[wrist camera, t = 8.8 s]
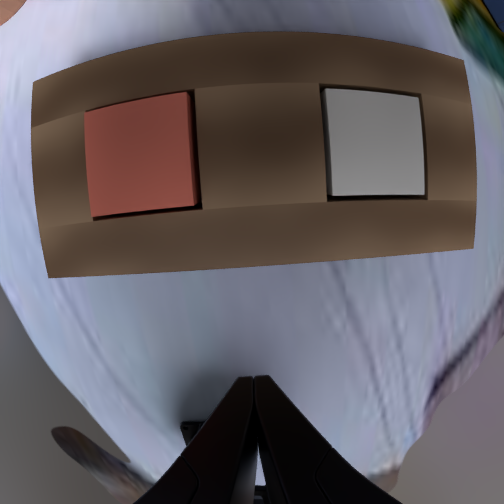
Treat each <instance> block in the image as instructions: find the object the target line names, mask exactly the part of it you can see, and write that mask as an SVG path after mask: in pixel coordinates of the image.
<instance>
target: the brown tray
mask: <svg viewBox="0 0 504 504" xmlns="http://www.w3.org/2000/svg"><path fill="white" fill-rule="evenodd" d="M324 89H345V90H359V91H370V92H380V93H389V94H397V95H404V96H411V97H417V98H418V99H419V107H420V116H421V126H422V139H423V155H424V195H343V196H332V195H328V194H327V193H326V170H325V152H324V137H323V124H322V112H321V101H320V93H321V92H322V91H323V90H324ZM182 92H187V93H188V95H189V96H190V97H191V99H192V100H193V101H194V103H195V105H196V124H197V141H198V156H199V170H200V183H201V195H202V201H200V202H199V203H197V204H195V205H194V206H183V207H173V208H163V209H153V210H144V211H135V212H127V213H118V214H110V215H103V216H95V217H91V210H90V202H89V193H88V182H87V170H86V155H85V131H84V113H85V112H89V111H93V110H96V109H100V108H104V107H108V106H113V105H117V104H121V103H126V102H131V101H135V100H140V99H146V98H151V97H157V96H162V95H169V94H175V93H182ZM31 152H32V172H33V185H34V195H35V204H36V212H37V219H38V226H39V232H40V238H41V244H42V249H43V255H44V260H45V264H46V269H47V273H48V278H63V277H85V276H105V275H124V274H143V273H160V272H177V271H194V270H210V269H225V268H240V267H255V266H269V265H283V264H297V263H311V262H324V261H337V260H349V259H362V258H374V257H386V256H397V255H409V254H420V253H431V252H442V251H453V250H463V249H473V248H474V237H475V223H476V201H477V167H476V146H475V132H474V122H473V113H472V105H471V98H470V92H469V86H468V80H467V75H466V70H465V65H464V60H461V59H458V58H455V57H451V56H448V55H445V54H441V53H437V52H434V51H430V50H426V49H422V48H418V47H414V46H409V45H405V44H400V43H395V42H389V41H384V40H378V39H372V38H365V37H357V36H349V35H340V34H328V33H314V32H243V33H229V34H217V35H208V36H199V37H192V38H185V39H179V40H173V41H167V42H161V43H156V44H151V45H147V46H142V47H138V48H133V49H129V50H125V51H121V52H118V53H114V54H110V55H107V56H103V57H100V58H97V59H93V60H90V61H87V62H84V63H81V64H78V65H75V66H72V67H70V68H67V69H64V70H61V71H59V72H56V73H54V74H51V75H49V76H46V77H44V78H41V79H39V80H37V81H34V82H33V90H32V109H31Z"/></svg>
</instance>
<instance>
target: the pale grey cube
mask: <svg viewBox="0 0 504 504" xmlns="http://www.w3.org/2000/svg"><path fill="white" fill-rule="evenodd" d="M320 101H321V112H322V124H323V137H324V152H325V170H326V193H327V194H328V195H332V196H343V195H424V155H423V139H422V126H421V116H420V107H419V99H418V98H417V97H411V96H404V95H397V94H389V93H380V92H370V91H359V90H345V89H324V90H323V91H322V92H321V93H320Z"/></svg>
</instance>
